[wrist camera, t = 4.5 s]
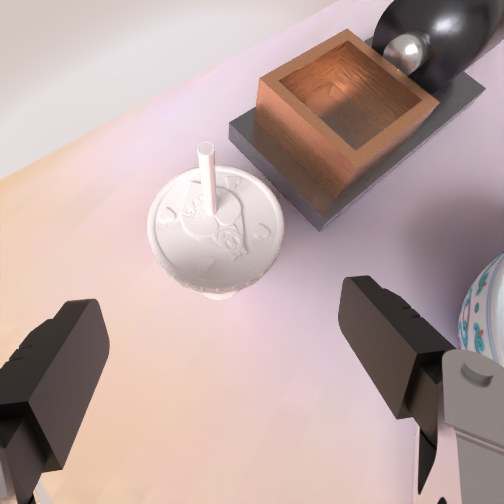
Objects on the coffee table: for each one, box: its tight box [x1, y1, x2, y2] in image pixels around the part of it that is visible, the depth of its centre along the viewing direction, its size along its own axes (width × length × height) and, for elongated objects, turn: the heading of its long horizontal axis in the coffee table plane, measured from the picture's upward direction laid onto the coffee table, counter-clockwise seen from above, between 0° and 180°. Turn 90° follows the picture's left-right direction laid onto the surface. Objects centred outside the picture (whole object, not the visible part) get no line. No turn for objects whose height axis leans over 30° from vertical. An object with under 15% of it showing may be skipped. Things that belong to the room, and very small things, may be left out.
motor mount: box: [229, 0, 504, 232], centre depth 24 cm, size 24×12×10 cm, turn 131°
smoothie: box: [147, 142, 284, 300], centre depth 16 cm, size 6×6×14 cm
